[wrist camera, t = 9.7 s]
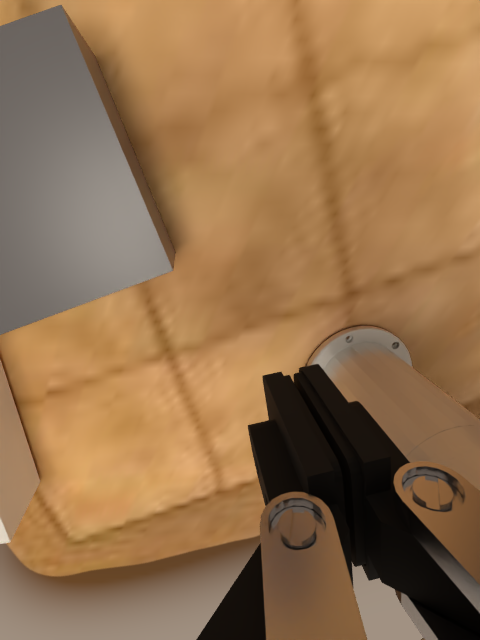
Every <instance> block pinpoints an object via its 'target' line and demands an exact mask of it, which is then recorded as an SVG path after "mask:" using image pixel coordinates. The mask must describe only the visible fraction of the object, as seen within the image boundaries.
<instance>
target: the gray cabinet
mask: <svg viewBox="0 0 480 640" xmlns="http://www.w3.org/2000/svg"><path fill="white" fill-rule="evenodd" d="M175 253H176V252H175V250H174V248H173V245H172V243H171V240H170V238H169V235H168V233H167V231H166V228H165V226H164V223H163V221H162V218H161V216H160V213H159V211H158V209H157V206H156V204H155V201H154V199H153V196H152V194H151V191H150V189H149V187H148V184H147V182H146V179H145V177H144V174H143V172H142V170H141V167H140V165H139V162H138V160H137V157H136V155H135V152H134V150H133V148H132V145H131V143H130V140H129V138H128V135H127V133H126V130H125V128H124V126H123V123H122V121H121V118H120V116H119V113H118V111H117V109H116V106H115V104H114V101H113V99H112V96H111V94H110V91H109V89H108V87H107V84H106V82H105V79H104V77H103V74H102V72H101V69H100V67H99V65H98V62H97V60H96V57H95V55H94V54H93V52H92V51H91V49H90V48H89V46H88V45H87V43H86V41H85V40H84V38H83V37H82V35H81V34H80V32H79V31H78V29H77V28H76V26H75V25H74V23H73V22H72V20H71V19H70V17H69V16H68V14H67V13H66V11H65V10H64V8H63V7H62V5H59V6H56V7H53V8H50V9H47V10H45V11H42V12H39V13H36V14H33V15H30V16H28V17H25V18H22V19H19V20H16V21H13V22H11V23H8V24H5V25H2V26H0V335H1V334H4V333H6V332H9V331H12V330H14V329H17V328H20V327H22V326H25V325H28V324H30V323H33V322H36V321H39V320H41V319H44V318H47V317H49V316H52V315H55V314H57V313H60V312H63V311H66V310H68V309H71V308H74V307H76V306H79V305H82V304H84V303H87V302H90V301H93V300H95V299H98V298H101V297H103V296H106V295H109V294H111V293H114V292H117V291H120V290H122V289H125V288H128V287H130V286H133V285H136V284H138V283H141V282H144V281H146V280H149V279H152V278H155V277H157V276H160V275H163V274H165V273H168V272H171V271H173V268H174V260H175Z"/></svg>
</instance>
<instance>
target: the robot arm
mask: <svg viewBox="0 0 480 640" xmlns="http://www.w3.org/2000/svg"><path fill="white" fill-rule="evenodd" d="M347 336H348V337H347ZM346 337H347V338H346ZM263 384H264V391H265V397H266V403H267V410H268V416H269V421H265V422H260V423H256V424H252V425H248V430H249V436H250V441H251V447H252V452H253V457H254V461H255V466H256V470H257V474H258V478H259V482H260V486H261V490H262V494H263V498H264V502H265V506H266V507H265V509H264V511H263V513H262V515H261V521H260V537H261V543H260V545H259V546H258V548H257V549H256V551H255V552H254V554H253V555H252V557H251V558H250V560H249V561H248V563H247V564H246V566H245V568H244V569H243V570H242V572H241V574H240V575H239V576H238V578H237V579H236V581H235V582H234V584H233V585H232V587H231V588H230V590H229V591H228V593H227V594H226V596H225V597H224V599H223V600H222V602H221V603H220V605H219V607H218V608H217V610H216V611H215V613H214V614H213V616H212V617H211V619H210V620H209V622H208V623H207V625H206V626H205V628H204V629H203V631H202V632H201V634H200V635H199V637H198V638H197V640H367V637H366V633H365V630H364V626H363V622H362V619H361V615H360V611H359V608H358V604H357V601H356V597H355V594H354V590H353V577H352V563H353V564H354V566H355V567H356V566H360V565H362V567H363V569H364V571H365V573H366V575H367V578H368V580H373V579H377V578H380V580H381V582H382V583H384V584H386V585H388V586H390V587H392V588H394V589H395V592H396V595H397V597H398V599H399V601H400V603H401V605H402V607H403V608H404V609H405V611H406V612H407V614H408V615H409V617H410V618H411V619H412V621H413V623H414V624H415V625H416V627H417V628H418V630H419V632H420V633H421V634H422V636H423V637H424V638H422V639H421V640H480V419H479V418H477V417H476V416H475V415H473V414H472V413H471V412H470V411H468V410H467V409H466V408H464V407H463V406H462V405H461V404H459V403H458V402H457V401H455V400H454V399H453V398H451V397H450V396H449V395H448V394H446V393H445V392H444V391H442V390H441V389H440V388H438V387H437V386H436V385H435V384H433V383H432V382H431V381H429V380H428V379H427V378H425V377H424V376H423V375H422V374H420V373H419V372H418V371H416V370H415V369H414V368H413V367H412V360H411V357H410V353H409V351H408V349H407V348H406V346H405V344H404V343H403V342H402V341H401V340H400V339H399V338H398V337H396V336H395V335H393V334H392V333H391V332H389V331H387V330H385V329H382V328H378V327H374V326H358V327H352V328H349V329H345V330H342V331H340V332H338V333H337V334H335V335H333V336H331V337H330V338H329V339H327V340H326V341H325V342H323V343H322V344H321V345H320V346H319V347H318V348H317V350H316V351H315V352H314V353H313V355H312V356H311V358H310V359H309V361H308V364H307V366H305V367H300V368H299V373H296V374H294V382H293V381H292V379H291V377H290V376H289V375H287V376H283V374H282V372H277V373H273V374H268V375H264V376H263Z"/></svg>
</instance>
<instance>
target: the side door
mask: <svg viewBox="0 0 480 640" xmlns="http://www.w3.org/2000/svg"><path fill="white" fill-rule="evenodd" d="M39 483H40V479H39V476H38V473H37V470H36V467H35V464H34V461H33V458H32V455H31V452H30V448H29V445H28V442H27V439H26V436H25V433H24V430H23V427H22V424H21V421H20V418H19V415H18V412H17V409H16V406H15V403H14V400H13V397H12V394H11V390H10V387H9V384H8V381H7V378H6V375H5V372H4V369H3V366H2V363H1V360H0V544H2V543H9V542H11V540H12V538H13V536H14V534H15V532H16V530H17V528H18V526H19V524H20V522H21V519H22V517H23V515H24V513H25V511H26V509H27V507H28V505H29V503H30V501H31V499H32V497H33V495H34V493H35V491H36V489H37V487H38V485H39Z"/></svg>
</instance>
